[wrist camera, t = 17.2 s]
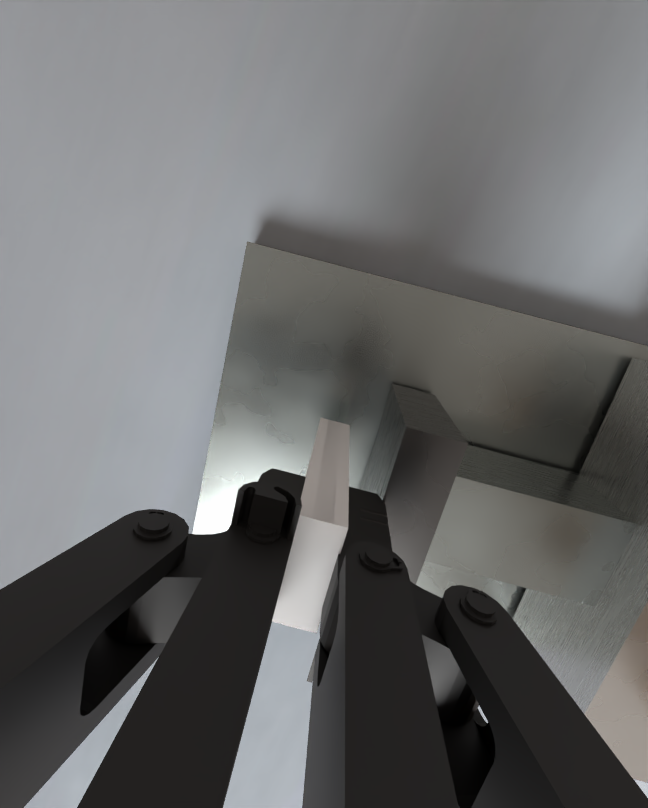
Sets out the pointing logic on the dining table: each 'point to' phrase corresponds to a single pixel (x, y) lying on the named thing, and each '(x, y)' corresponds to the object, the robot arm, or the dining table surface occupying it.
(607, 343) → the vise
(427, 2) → the dining table surface
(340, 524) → the robot arm
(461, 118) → the dining table surface
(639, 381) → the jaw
